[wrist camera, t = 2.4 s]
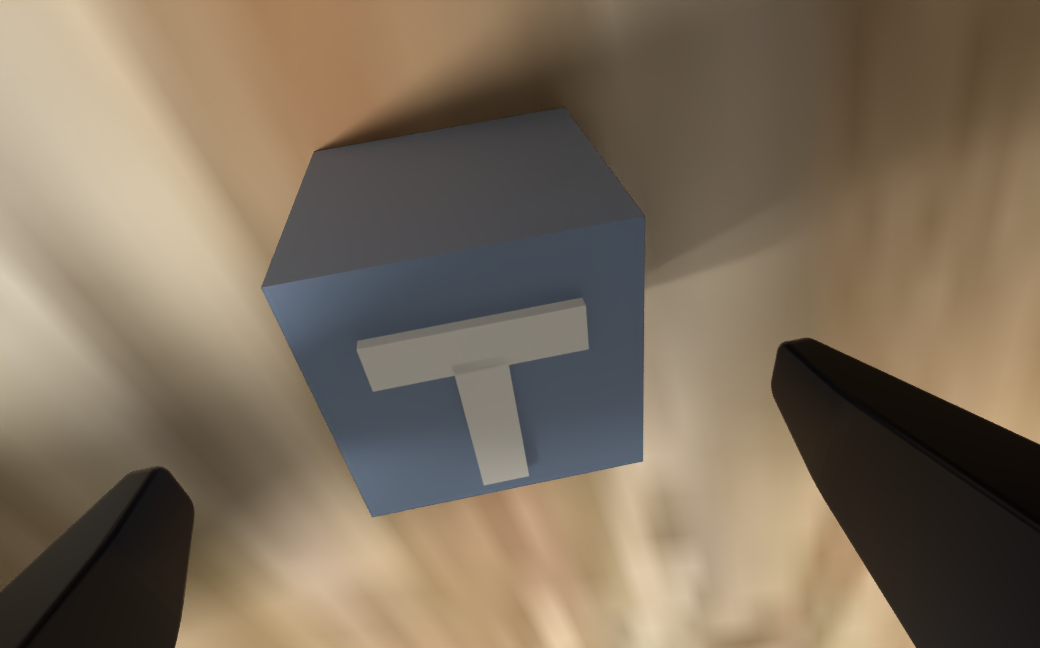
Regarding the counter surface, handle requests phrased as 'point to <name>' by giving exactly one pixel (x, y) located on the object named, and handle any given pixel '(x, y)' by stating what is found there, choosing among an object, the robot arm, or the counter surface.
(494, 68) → the counter surface
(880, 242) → the counter surface
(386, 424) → the letter cube
